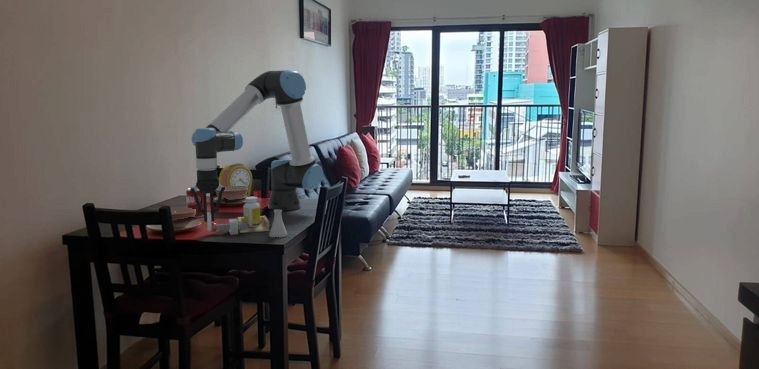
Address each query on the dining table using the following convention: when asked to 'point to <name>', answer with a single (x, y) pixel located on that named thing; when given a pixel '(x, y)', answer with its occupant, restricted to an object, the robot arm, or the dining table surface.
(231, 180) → the alarm clock
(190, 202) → the soda can
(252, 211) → the pill bottle
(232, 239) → the dining table surface
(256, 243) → the dining table surface
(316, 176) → the robot arm
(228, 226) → the lock pin
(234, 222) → the pin mount
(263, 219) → the dock
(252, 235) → the dining table surface
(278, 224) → the flask
